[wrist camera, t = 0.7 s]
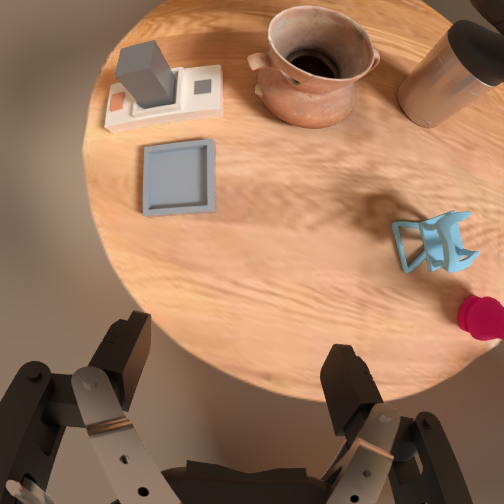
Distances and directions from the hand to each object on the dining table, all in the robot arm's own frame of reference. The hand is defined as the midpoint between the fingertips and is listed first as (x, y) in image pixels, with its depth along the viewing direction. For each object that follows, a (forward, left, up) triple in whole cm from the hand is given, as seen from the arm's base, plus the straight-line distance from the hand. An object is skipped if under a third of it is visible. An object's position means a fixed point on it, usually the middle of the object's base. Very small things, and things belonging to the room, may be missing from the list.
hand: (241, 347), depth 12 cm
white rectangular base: (-17, -24, -27) cm, 40 cm away
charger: (-17, -24, -24) cm, 38 cm away
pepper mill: (-11, +37, -27) cm, 47 cm away
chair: (-16, +20, -27) cm, 37 cm away
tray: (-7, -15, -27) cm, 32 cm away
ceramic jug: (-28, -5, -27) cm, 40 cm away
